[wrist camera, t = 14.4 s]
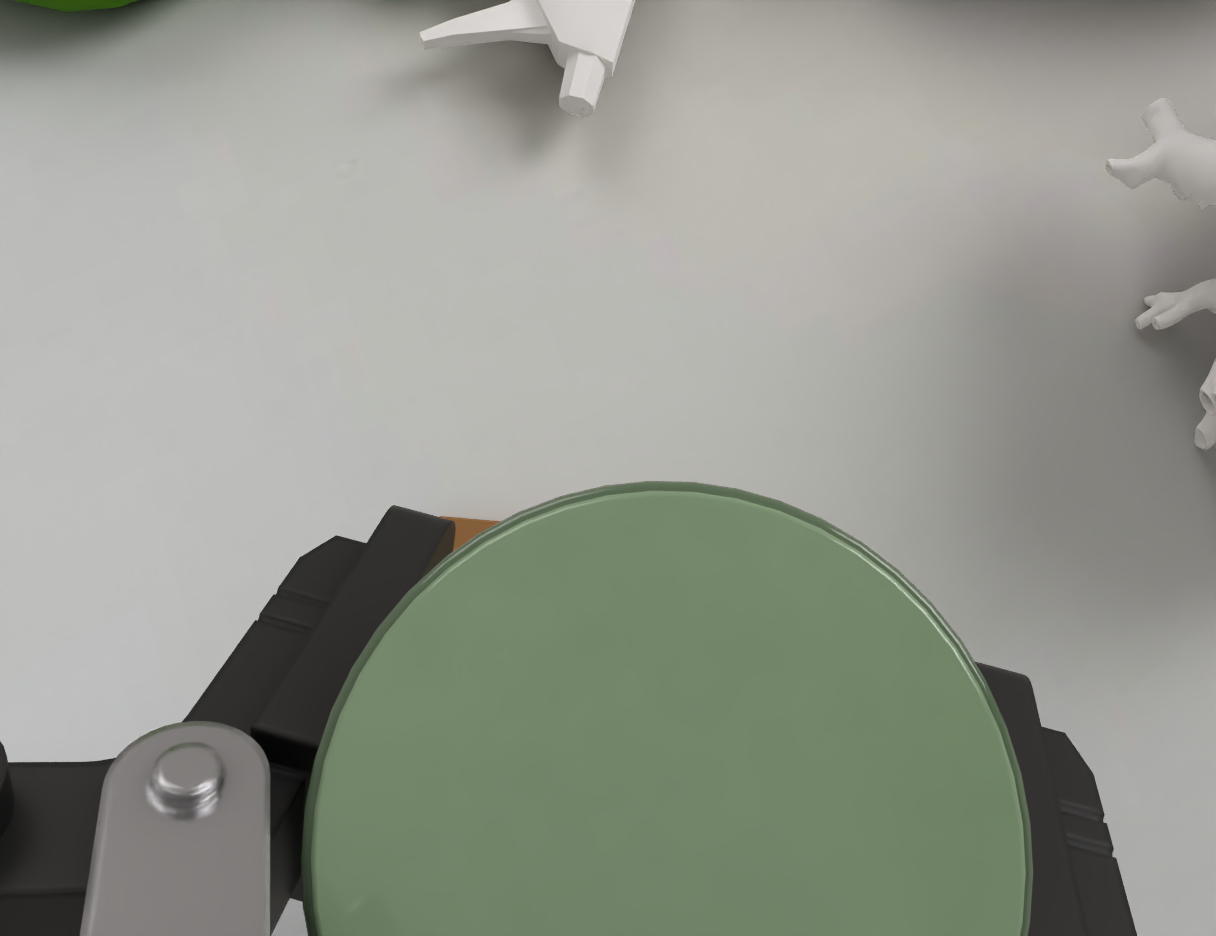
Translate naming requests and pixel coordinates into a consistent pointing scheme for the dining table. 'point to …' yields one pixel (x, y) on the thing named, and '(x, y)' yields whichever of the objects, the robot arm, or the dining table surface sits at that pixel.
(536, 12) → the spray bottle
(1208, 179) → the heart
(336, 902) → the canister
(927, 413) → the dining table surface
